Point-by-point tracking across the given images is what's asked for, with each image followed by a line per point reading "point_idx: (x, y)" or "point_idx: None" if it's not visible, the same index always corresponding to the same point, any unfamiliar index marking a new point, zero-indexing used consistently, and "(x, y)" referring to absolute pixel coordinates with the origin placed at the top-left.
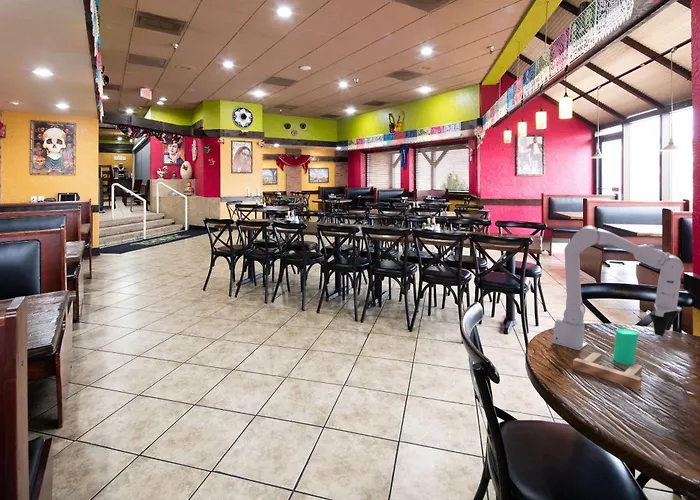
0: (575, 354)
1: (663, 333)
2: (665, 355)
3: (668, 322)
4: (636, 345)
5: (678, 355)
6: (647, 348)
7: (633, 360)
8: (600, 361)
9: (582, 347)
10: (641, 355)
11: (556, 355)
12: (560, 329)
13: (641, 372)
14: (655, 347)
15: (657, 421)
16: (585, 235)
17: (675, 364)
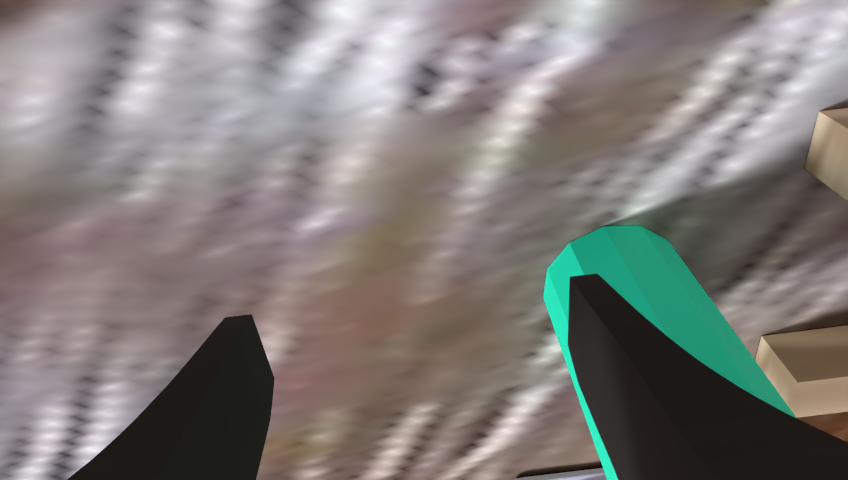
0: None
1: (619, 295)
2: (203, 161)
3: (681, 425)
4: (661, 328)
5: (80, 97)
6: (193, 290)
7: (634, 242)
8: (776, 343)
9: (596, 471)
10: (389, 258)
11: None
12: None
13: (837, 119)
14: (103, 268)
15: None
16: None
17: (340, 31)
